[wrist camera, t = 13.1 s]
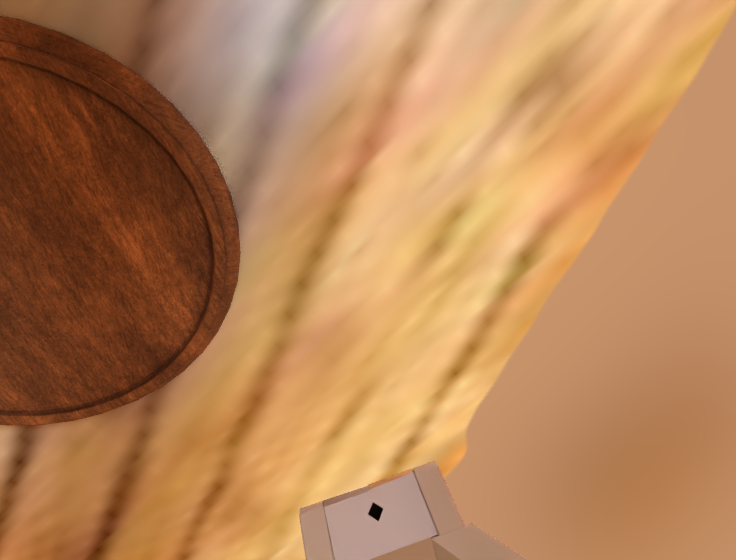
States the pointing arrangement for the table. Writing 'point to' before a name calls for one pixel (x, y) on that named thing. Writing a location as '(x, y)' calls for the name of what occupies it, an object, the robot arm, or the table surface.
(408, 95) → the table surface
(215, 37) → the table surface
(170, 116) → the cutting board
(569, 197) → the table surface
